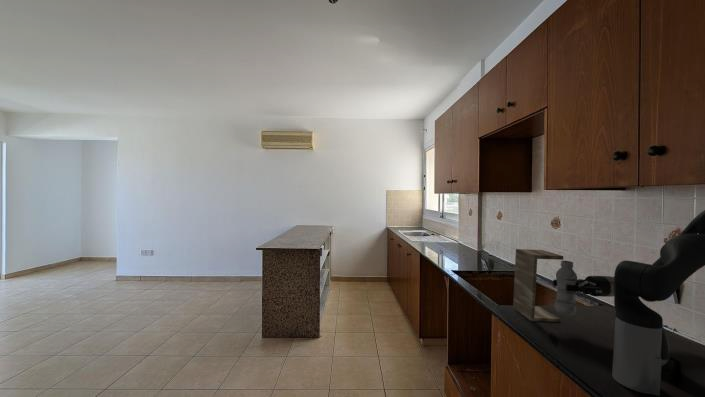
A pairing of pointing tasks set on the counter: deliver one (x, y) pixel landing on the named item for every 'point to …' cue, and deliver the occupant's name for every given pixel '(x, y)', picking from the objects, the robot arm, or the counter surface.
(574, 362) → the counter surface
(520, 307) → the cubby shelf
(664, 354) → the pump dispenser
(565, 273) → the plastic bottle
